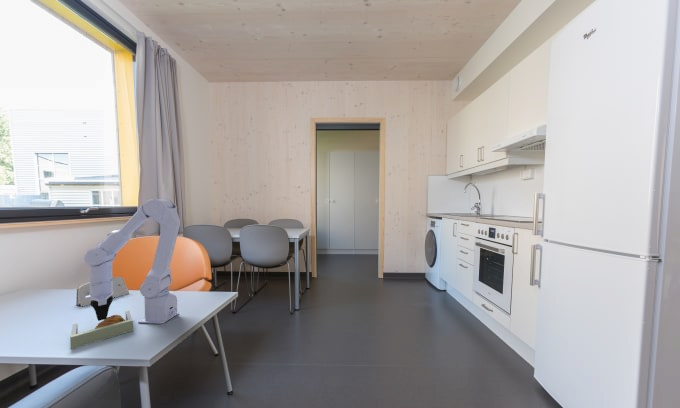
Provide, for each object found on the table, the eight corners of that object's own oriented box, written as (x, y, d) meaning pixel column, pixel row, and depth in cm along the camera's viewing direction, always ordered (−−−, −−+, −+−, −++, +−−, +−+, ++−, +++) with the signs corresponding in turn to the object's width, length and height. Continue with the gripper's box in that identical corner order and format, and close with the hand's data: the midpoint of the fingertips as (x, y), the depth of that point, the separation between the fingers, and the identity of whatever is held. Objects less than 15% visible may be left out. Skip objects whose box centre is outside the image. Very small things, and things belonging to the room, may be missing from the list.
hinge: (80, 307, 99) (76, 283, 101) (76, 309, 101) (72, 285, 103) (130, 293, 114) (126, 272, 116) (125, 295, 116) (121, 274, 118)
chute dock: (73, 333, 80) (72, 323, 80) (129, 318, 90) (129, 309, 90) (70, 349, 71) (70, 337, 71) (133, 330, 81) (132, 320, 81)
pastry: (112, 336, 78) (112, 325, 78) (85, 341, 76) (84, 329, 76) (126, 323, 87) (126, 312, 87) (102, 326, 85) (102, 315, 84)
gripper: (85, 279, 88) (86, 316, 88) (84, 289, 78) (85, 331, 78) (112, 274, 93) (112, 310, 93) (114, 283, 83) (115, 323, 83)
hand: (102, 319), depth 86 cm, fingers closed
